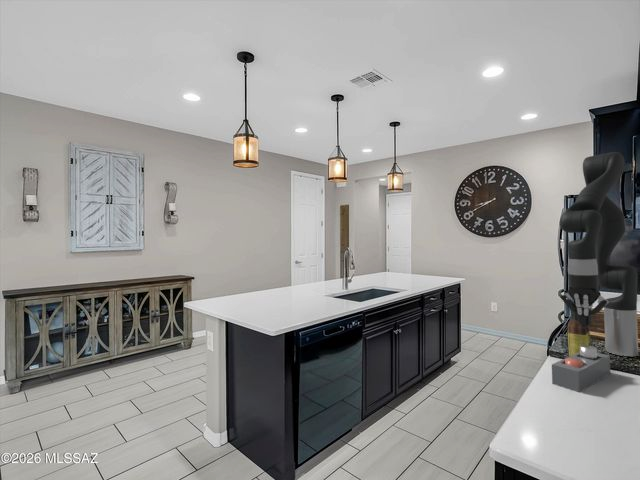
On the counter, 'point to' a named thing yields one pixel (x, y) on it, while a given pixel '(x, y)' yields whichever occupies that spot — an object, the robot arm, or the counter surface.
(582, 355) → the steel button
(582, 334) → the sauce bottle
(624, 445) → the counter surface
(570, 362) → the red button
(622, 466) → the counter surface
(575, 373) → the button panel
